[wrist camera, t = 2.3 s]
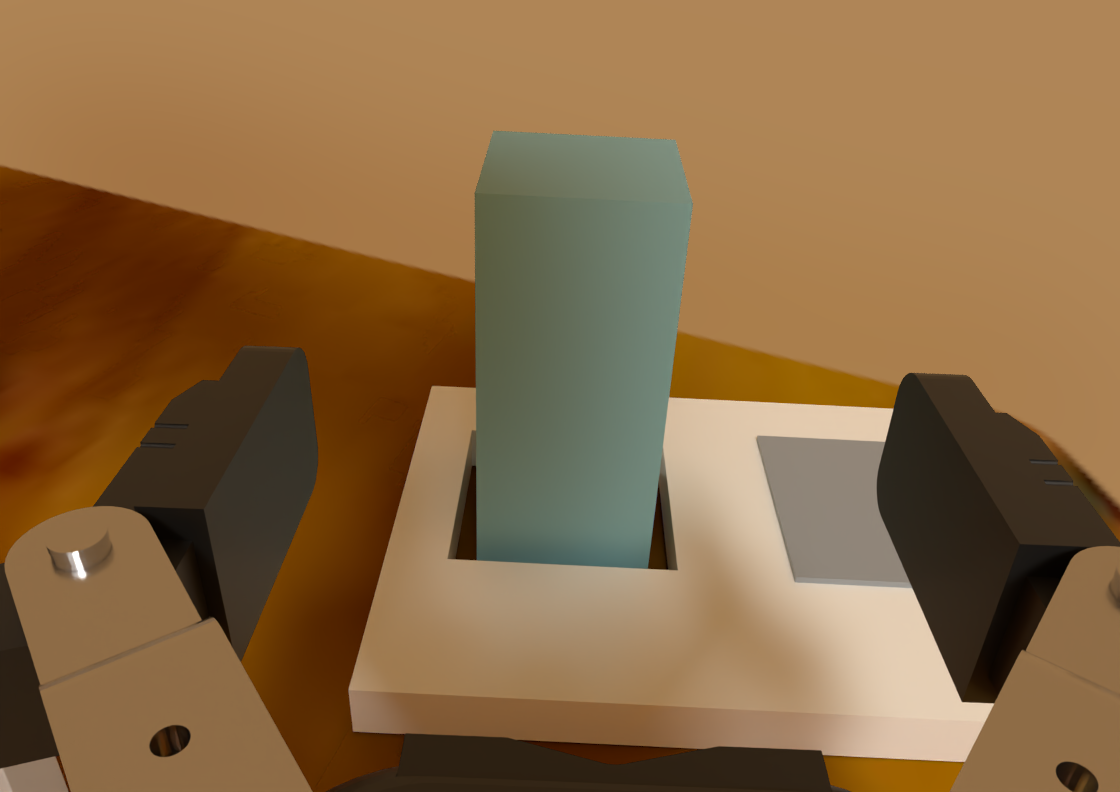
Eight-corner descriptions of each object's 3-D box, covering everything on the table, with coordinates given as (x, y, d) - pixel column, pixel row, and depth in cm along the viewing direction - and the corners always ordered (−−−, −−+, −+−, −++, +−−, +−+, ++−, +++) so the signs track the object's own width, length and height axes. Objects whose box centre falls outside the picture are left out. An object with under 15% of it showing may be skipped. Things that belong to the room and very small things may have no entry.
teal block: (476, 582, 28) (474, 192, 21) (491, 480, 32) (493, 130, 26) (644, 590, 28) (692, 203, 21) (637, 487, 32) (675, 139, 26)
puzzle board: (352, 731, 23) (347, 684, 22) (433, 420, 35) (431, 381, 34) (1162, 771, 23) (1189, 726, 22) (966, 446, 35) (979, 408, 34)
